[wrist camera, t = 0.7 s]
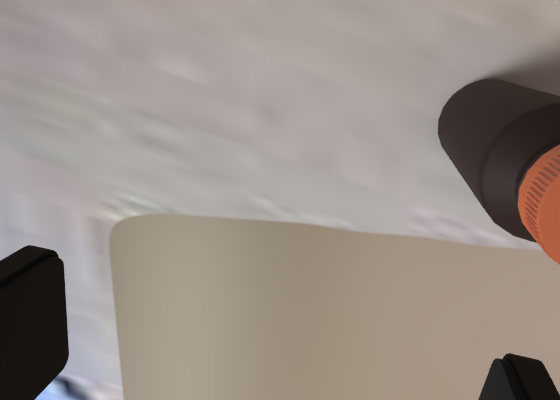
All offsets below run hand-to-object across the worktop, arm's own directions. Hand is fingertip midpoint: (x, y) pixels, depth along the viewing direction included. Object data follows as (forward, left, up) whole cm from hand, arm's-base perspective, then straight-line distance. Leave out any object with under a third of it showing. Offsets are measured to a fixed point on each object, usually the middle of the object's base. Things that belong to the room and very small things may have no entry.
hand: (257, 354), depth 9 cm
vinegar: (-2, +11, -29) cm, 31 cm away
